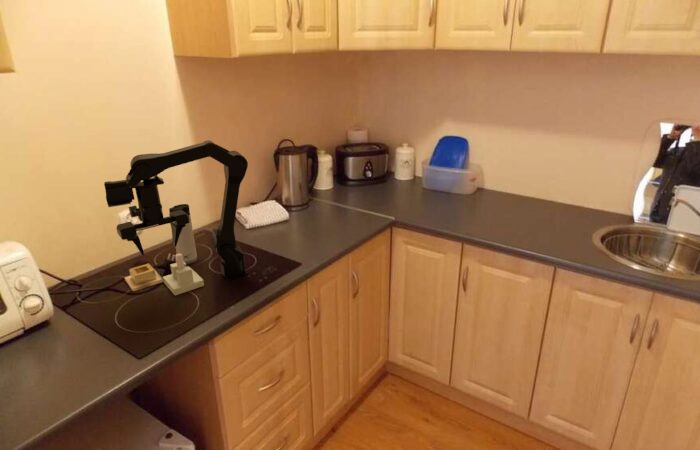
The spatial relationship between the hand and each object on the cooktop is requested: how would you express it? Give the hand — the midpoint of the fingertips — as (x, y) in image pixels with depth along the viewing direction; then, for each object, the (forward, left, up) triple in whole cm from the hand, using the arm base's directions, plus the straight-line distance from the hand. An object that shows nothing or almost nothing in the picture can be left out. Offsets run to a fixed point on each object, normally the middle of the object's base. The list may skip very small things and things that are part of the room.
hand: (159, 250), depth 136 cm
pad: (+4, -10, -13) cm, 16 cm away
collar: (+4, -9, -12) cm, 16 cm away
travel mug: (-12, -15, -13) cm, 23 cm away
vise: (-5, 0, -13) cm, 14 cm away
